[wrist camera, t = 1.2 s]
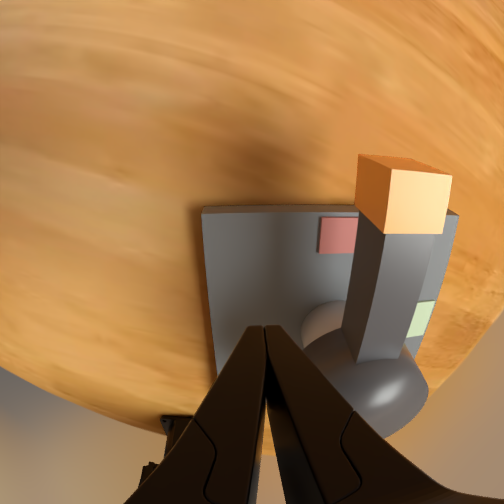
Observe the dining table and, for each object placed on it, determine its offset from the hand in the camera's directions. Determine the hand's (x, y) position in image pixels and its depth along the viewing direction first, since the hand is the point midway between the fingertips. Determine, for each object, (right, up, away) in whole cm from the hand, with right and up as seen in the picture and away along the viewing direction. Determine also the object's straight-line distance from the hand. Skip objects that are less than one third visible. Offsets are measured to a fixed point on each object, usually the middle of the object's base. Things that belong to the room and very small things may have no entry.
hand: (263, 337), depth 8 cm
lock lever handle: (+6, -1, +9) cm, 10 cm away
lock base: (+6, -3, +16) cm, 17 cm away
